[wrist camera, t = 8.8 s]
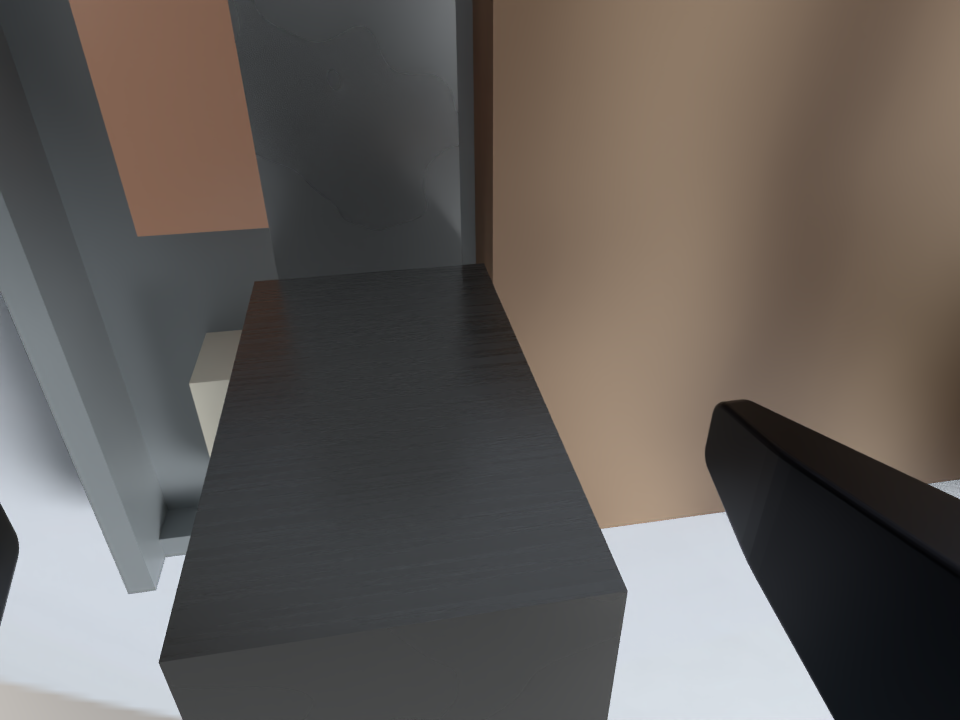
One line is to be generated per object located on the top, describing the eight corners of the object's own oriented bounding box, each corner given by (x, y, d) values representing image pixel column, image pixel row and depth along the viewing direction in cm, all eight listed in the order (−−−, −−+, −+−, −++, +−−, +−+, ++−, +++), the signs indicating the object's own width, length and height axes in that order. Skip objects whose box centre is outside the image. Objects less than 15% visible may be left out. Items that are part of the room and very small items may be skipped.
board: (1165, -146, 13) (1316, -162, 11) (925, 420, 21) (990, 474, 19) (465, -152, 12) (493, -172, 9) (475, 476, 19) (492, 543, 17)
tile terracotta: (350, -46, 12) (352, -43, 10) (372, 185, 14) (376, 220, 12) (100, -43, 11) (57, -39, 9) (163, 198, 13) (137, 236, 11)
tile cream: (391, 316, 15) (398, 362, 14) (403, 454, 17) (410, 509, 16) (206, 332, 15) (188, 383, 13) (242, 473, 17) (231, 532, 15)
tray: (465, -152, 12) (493, -172, 9) (475, 476, 19) (492, 543, 17) (-90, -157, 10) (-199, -180, 8) (153, 516, 18) (128, 593, 16)
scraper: (443, -130, 9) (773, -343, 2) (463, 542, 16) (560, 1017, 9) (215, -130, 9) (-290, -398, 2) (335, 560, 16) (331, 1072, 9)
